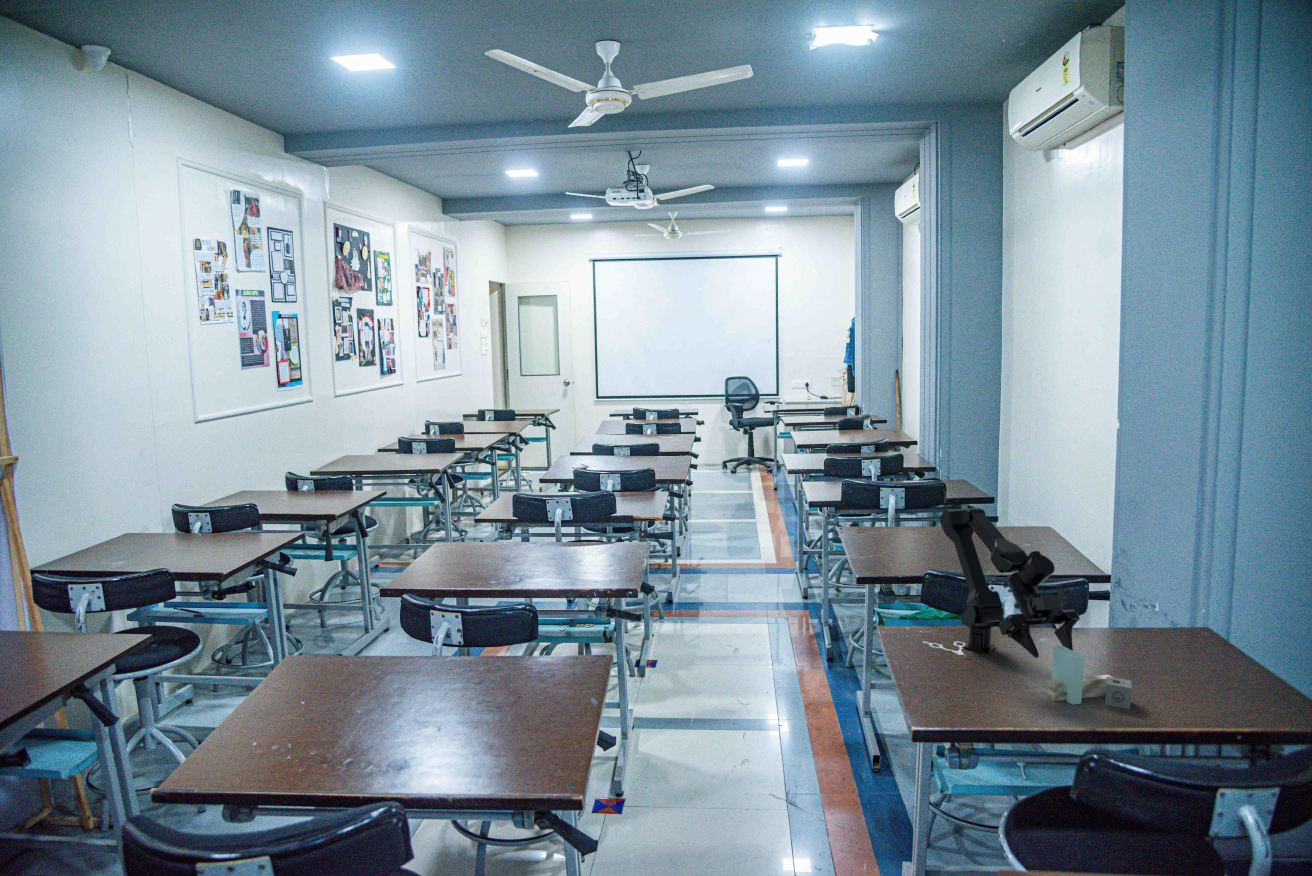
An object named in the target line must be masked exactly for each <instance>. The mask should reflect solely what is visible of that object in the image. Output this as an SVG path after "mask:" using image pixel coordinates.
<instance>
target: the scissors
mask: <svg viewBox="0 0 1312 876" xmlns="http://www.w3.org/2000/svg"><path fill="white" fill-rule="evenodd" d="M961 643H962V645H958V644H961ZM922 644H925V645H928V646H929V647H930V648H932V649H939V650H944V651H945V652H946V651H947V652H950V651H952V653H953V654H955V653H956V654H955V655H957V654H958V655H957V656H959V655H965V653H964V652H963V650H962V649H963V648H964V646H965V645H966V644H967V643H964V642H963V641H954V642H953V645H954V647H958V648H959V649H958V650H953V649H948V648H945V647H944V646H943V644H940V643H937V642H932V643H931V642H927V641H925V640H924V641H923V640H922Z"/></svg>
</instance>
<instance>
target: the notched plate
mask: <svg viewBox="0 0 1312 876" xmlns="http://www.w3.org/2000/svg"><path fill="white" fill-rule="evenodd" d="M1052 653H1053V654H1052V671H1051V672H1052V673H1051V681H1053V680H1057V681H1059V682H1061V683H1062V690H1063V691H1065V692H1066V693H1067V700H1066V702H1067V703H1069V704H1071V705H1080V704H1082V699H1083V698H1082V682H1083V677H1084V664H1085V662H1084V661H1085V656H1084V655H1082V654H1080V653H1077V651H1074V650H1073V651H1072V650H1070V649H1068V648H1066V647H1064V646H1063V645H1058V646H1053V652H1052Z"/></svg>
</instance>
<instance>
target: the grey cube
mask: <svg viewBox="0 0 1312 876" xmlns="http://www.w3.org/2000/svg"><path fill="white" fill-rule="evenodd" d="M1132 688H1133V686H1132V680H1130V679H1123V678H1117V677H1114V676H1111V677H1106V692H1105V696H1104V705H1105V706H1109V707H1115V708H1119V709H1126V710H1131V705H1132V704H1131V702H1132Z"/></svg>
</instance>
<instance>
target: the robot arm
mask: <svg viewBox="0 0 1312 876" xmlns="http://www.w3.org/2000/svg"><path fill="white" fill-rule="evenodd" d="M939 524H940V526H941V528H942V530H943V532H944V535H945V536H946V537H948V538H949V540H950V541H952V542H953V544H954V547H955V550H956V551H955V552H956V553H957V557H958V561H959V563H960V566H961V570H962V573H963V576H964V579H965V583H966V586H967V589H968V595H967V600H966V606H967V607H966V608H967V609H965V610H964V612H963V613H962V614H961V615H960V621H961V624H962V625H963V626H966V627H967V628H968V638H967V639H968V641H967V642H966V643H965V644H966V645H965V646H964V647H963V649H965V650H970V651H976V652H982V653H986V654H989V653H991V652H992V650H994V648H995V647H996V645H995V644H993V643H992V634H993V633H992V632H993V631H992V630H993V628H994V627H997V628H998V629H999V632H1000V634H1001V635H1002V636H1007V638H1009V639H1012V640H1013V641H1014V642H1016V643H1017V644H1019V645H1020V646H1021V647H1023V649H1025V650H1026V651H1027V652H1028V653H1029V654H1031V656H1032V657H1034V658H1035V659H1037V658H1039V657H1040V655H1039V652H1038V648H1037V647H1036V644H1035V643H1034V640H1033V637H1032V635H1031V630H1030V629H1031V627H1039V626H1051V628H1052V629H1053V630H1054V632H1053V633H1054V635H1055V636H1056V638H1057V639H1058V640H1059V642H1060V643H1061V646H1064V647H1066V648H1068V649H1070V650H1072V651H1074V650H1073V649H1074V648H1073V628H1074V627H1075V626H1076V625H1077V622H1078V621H1081V617H1080V616H1079V613H1078V612H1077V610H1074V609H1073V608H1072V609H1064V606H1063V605H1067V604H1068V599H1067V596H1066V595H1065V593H1064V590H1063V591H1055V592H1053V591H1052V594H1051V595H1045V594H1044V593H1043V592H1041V593H1040V592H1039V589H1038V588H1037V587H1039V586H1040V585H1042V584H1043V583H1044V582H1045V581H1046V580H1047V579H1048V578H1049V577H1050V576H1052V575H1053V574H1054V572H1055V570H1056V569H1055V564H1054V563H1053V561H1052V560H1050V559H1049V558H1048V557H1047V556H1045V555H1043V554H1042V553H1041V552H1040V550H1032V551H1031V552H1030V553H1029V554H1027V553H1026V551H1025V550H1024V549H1023V548H1021V547H1020V546H1019V545H1018V544H1016V543H1013V542H1011V541H1009V540H1008V539H1006V537H1004V535H1003V534H1002V533H1001V532H1000V531H999V529H998V528H997V527H996V526H995V525H994V523H993V522H992V521H991V520H990V519H989V517H988V516H987V515H986V511H985V509H983V508H980V507H976V508H975V507H974V508H973V507H972V508H958V509H944V510H943V512H942V513H941V514H940V515H939ZM974 533H975V534H976V536H977V537H978V538H979V539H980V541H982V543H983V545H984V546H985V547H986V548H987V549H988V551H989V552H990V560H991V563H992V565H993V566H994V568H995V569H996V571H997V572H998V573H1001V574H1005V573H1006V574H1007V573H1009V574H1010V573H1012V574H1010V576H1005V579H1004V582H1003V584H1002V585H1003V586H1002V587H1003V588H1006V589H1007V588H1009V590H1010V591H1011V593H1012V595H1013V598H1014V601H1015V602H1016V603H1015V604H1014V609H1015V610H1019V611H1020V613H1014V614H1007V616H1006V617H1005V618H1003V617H1004V612H1005V611H1004V610H1005V609H1004V604H1003V602H1002V600H1001V597H1000V593H999V592H998V591H997V590H995V591H993V590H992V589H990V588H989V585H988V583H987V582H988V581H987V580H986V576H985V574H984V570H983V568H982V567H983V566H982V564H981V561H980V559H979V554H978V552H977V549H976V546H975V542H974V540H973V534H974ZM1056 609H1061V610H1059V611H1058V612H1056V614H1054V615H1051V614H1053V613H1055V610H1056ZM1062 609H1063V610H1062Z"/></svg>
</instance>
